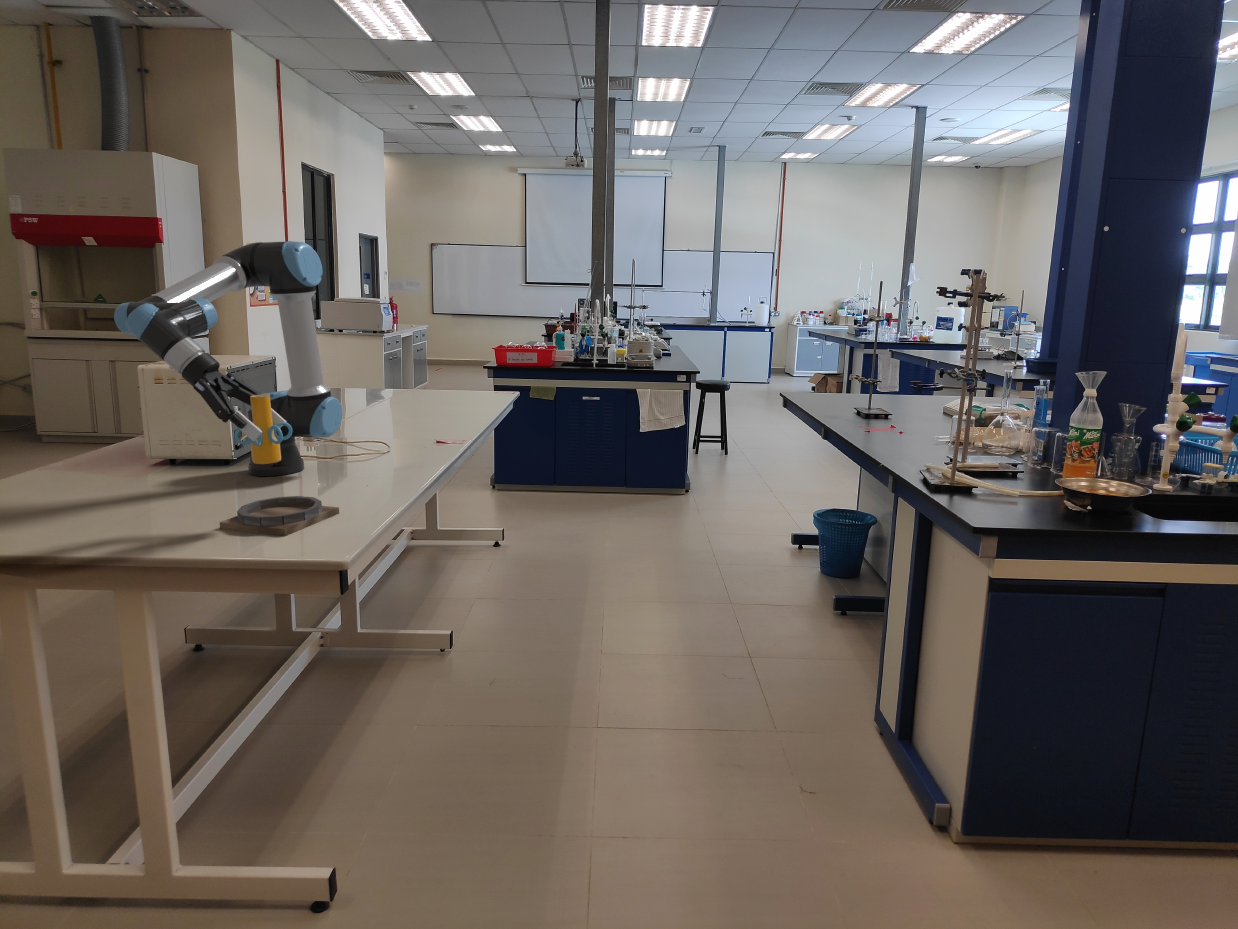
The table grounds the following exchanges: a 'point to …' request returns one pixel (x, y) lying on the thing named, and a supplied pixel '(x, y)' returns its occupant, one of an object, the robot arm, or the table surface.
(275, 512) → the hub board
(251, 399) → the cylinder
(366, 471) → the table surface
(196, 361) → the robot arm
